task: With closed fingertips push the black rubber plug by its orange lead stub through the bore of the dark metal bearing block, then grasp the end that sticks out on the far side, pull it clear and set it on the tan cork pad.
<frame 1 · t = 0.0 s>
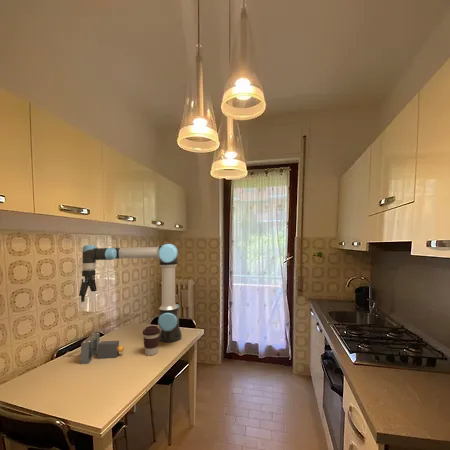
hand: (88, 304, 161), 28 cm above the table, fingers open, 13 cm apart
plug: (108, 356, 150), on the table
coffee cup: (151, 353, 154), on the table
pad: (73, 354, 154), on the table
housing: (90, 357, 149), on the table
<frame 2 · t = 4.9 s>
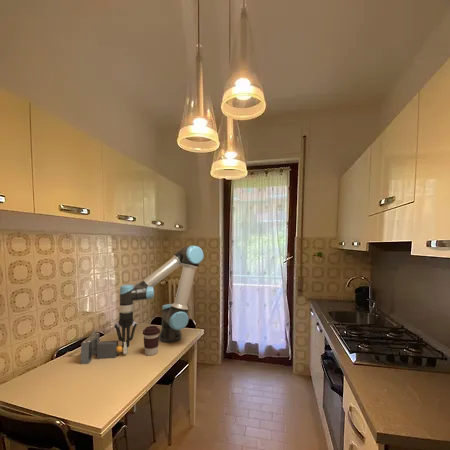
hand: (125, 352, 151), 2 cm above the table, fingers closed
plug: (107, 356, 150), on the table, touching gripper
everything else where it was.
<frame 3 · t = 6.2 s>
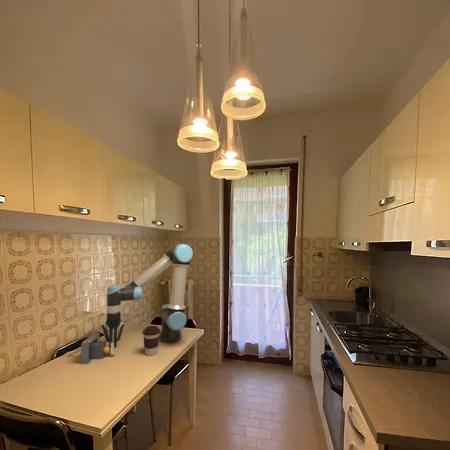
hand: (112, 353, 150), 2 cm above the table, fingers closed
plug: (94, 357, 149), on the table, touching gripper
everything else where it was.
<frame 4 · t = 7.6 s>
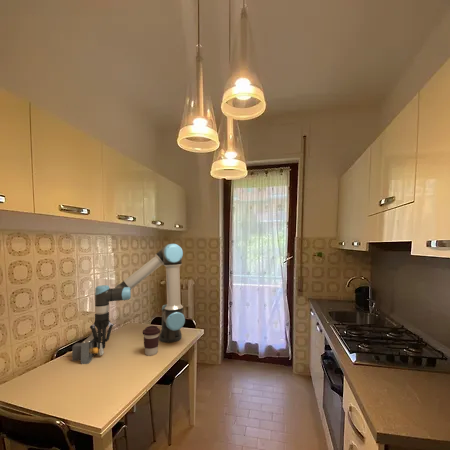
hand: (101, 354, 150), 2 cm above the table, fingers closed
plug: (83, 358, 148), on the table
everything else where it was.
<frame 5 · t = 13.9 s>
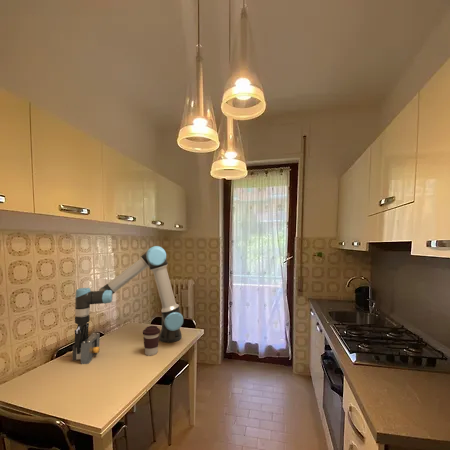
hand: (81, 356, 148), 1 cm above the table, fingers closed on plug, 5 cm apart
plug: (83, 358, 149), on the table, touching gripper
everything else where it was.
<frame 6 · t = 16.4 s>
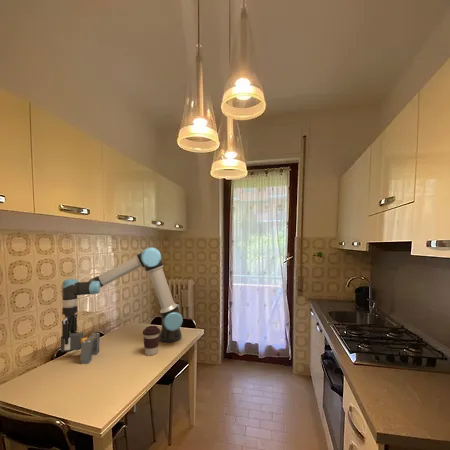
hand: (69, 347, 148), 6 cm above the table, fingers closed on plug, 5 cm apart
plug: (72, 348, 148), point 5 cm above the table, touching gripper
everything else where it was.
when the fingers open (2 cm above the table, at t = 19.2 s): plug stays where it is, resting on pad.
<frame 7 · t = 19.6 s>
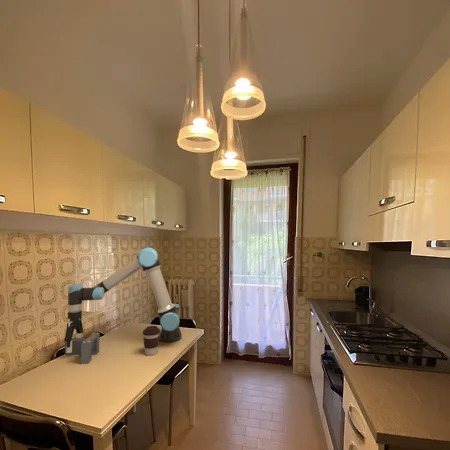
hand: (73, 348, 154), 3 cm above the table, fingers open, 11 cm apart
plug: (75, 353, 154), resting on pad
everything else where it was.
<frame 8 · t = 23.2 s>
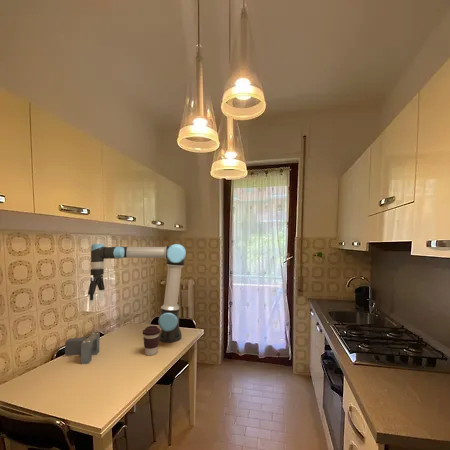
hand: (96, 303, 161), 29 cm above the table, fingers open, 13 cm apart
nothing on the table moved.
at the end: plug inside the target area on the pad (1.3 cm from its centre), point 0.4 cm above the pad's base; plug touching pad; the gripper is holding nothing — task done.
